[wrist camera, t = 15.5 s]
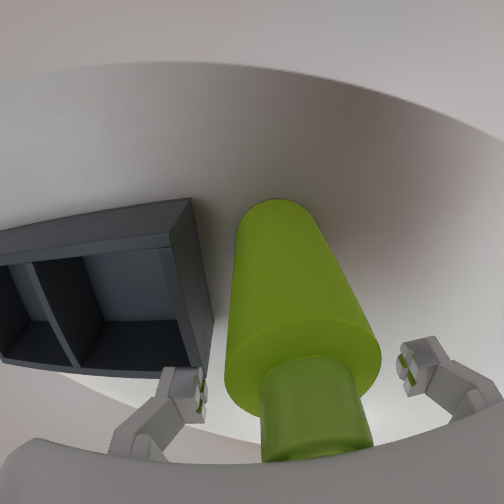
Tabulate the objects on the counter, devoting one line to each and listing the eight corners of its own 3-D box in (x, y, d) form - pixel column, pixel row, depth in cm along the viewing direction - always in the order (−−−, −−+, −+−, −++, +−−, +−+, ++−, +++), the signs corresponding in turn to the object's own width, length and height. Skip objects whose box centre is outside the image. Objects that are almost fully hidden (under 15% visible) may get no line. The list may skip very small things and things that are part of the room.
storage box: (-6, 232, 22) (-48, 263, 16) (191, 197, 21) (169, 232, 15) (32, 323, 26) (2, 363, 20) (214, 321, 25) (206, 379, 20)
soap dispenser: (208, 234, 22) (131, 555, 4) (292, 183, 21) (444, 516, 3) (252, 292, 24) (258, 575, 6) (330, 249, 23) (450, 528, 5)
